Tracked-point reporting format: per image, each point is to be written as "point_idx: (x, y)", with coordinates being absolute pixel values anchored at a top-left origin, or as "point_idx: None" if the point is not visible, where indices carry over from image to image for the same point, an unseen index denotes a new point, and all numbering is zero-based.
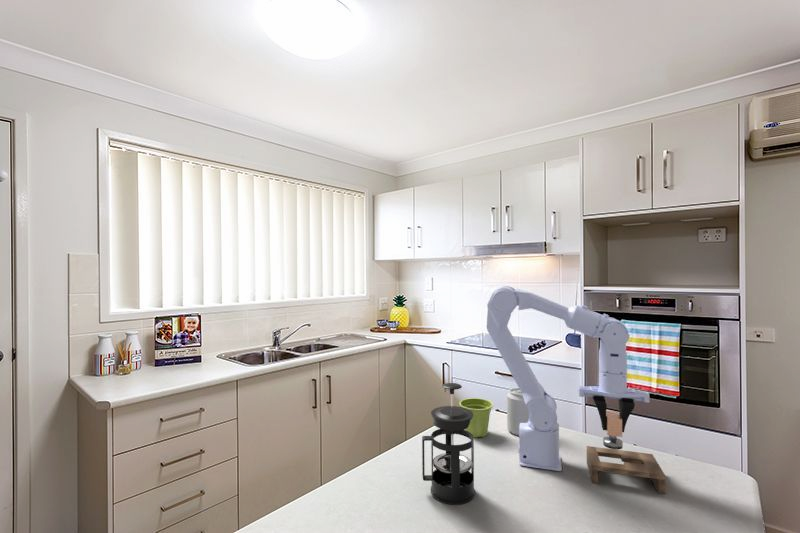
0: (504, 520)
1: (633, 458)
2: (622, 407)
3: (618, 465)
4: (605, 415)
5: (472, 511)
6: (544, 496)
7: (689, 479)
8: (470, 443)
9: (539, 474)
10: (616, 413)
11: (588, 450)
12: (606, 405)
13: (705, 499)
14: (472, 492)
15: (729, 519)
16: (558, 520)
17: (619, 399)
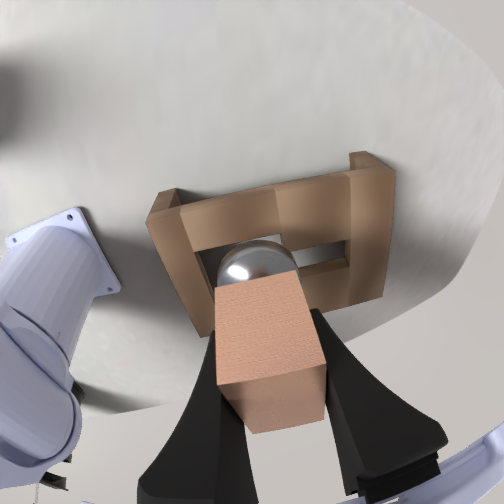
0: (134, 404)
1: (323, 242)
2: (342, 469)
3: None
4: (243, 436)
5: (100, 401)
6: (142, 364)
7: (437, 162)
8: (68, 458)
9: (94, 313)
10: (309, 390)
11: (163, 259)
12: (256, 495)
13: (429, 243)
14: (78, 394)
15: (429, 287)
16: (185, 392)
17: (360, 475)
